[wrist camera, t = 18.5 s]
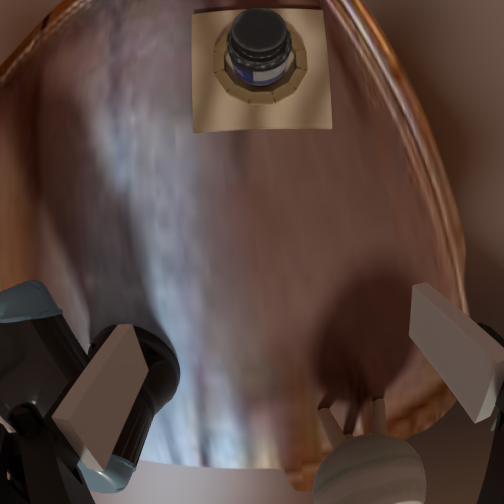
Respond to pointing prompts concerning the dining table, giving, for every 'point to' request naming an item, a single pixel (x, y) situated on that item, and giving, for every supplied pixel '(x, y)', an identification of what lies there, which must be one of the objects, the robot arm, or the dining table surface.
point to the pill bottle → (259, 46)
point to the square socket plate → (267, 97)
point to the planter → (368, 466)
